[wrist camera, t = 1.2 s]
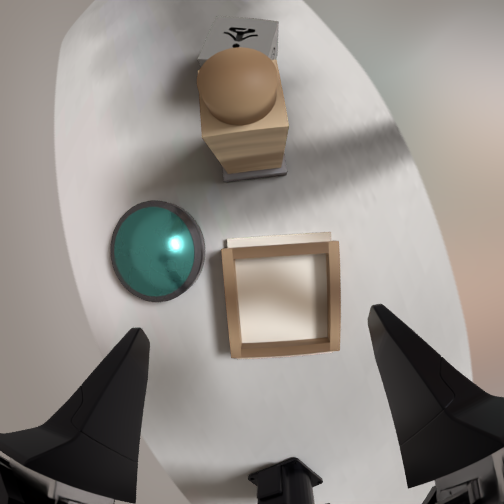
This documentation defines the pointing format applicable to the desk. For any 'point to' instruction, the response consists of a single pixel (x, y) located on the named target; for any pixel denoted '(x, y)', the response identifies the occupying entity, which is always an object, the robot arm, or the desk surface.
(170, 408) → the desk surface
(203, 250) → the pad
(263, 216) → the desk surface
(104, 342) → the desk surface
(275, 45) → the dice cube
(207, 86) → the stamp
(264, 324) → the frame
